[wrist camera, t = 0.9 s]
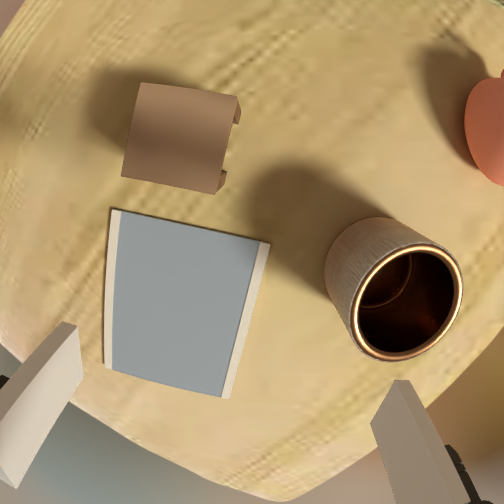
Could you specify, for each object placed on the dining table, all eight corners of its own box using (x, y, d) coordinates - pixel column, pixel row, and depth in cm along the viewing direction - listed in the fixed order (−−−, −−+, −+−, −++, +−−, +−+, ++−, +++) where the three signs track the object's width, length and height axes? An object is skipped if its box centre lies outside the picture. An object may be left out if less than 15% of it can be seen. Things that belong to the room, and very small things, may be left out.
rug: (114, 208, 30) (112, 209, 30) (270, 243, 31) (270, 244, 31) (106, 365, 36) (104, 367, 35) (229, 396, 37) (228, 399, 36)
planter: (310, 306, 33) (329, 359, 24) (337, 204, 30) (371, 226, 21) (398, 318, 34) (435, 366, 25) (428, 227, 31) (480, 254, 21)
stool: (168, 99, 27) (140, 82, 19) (241, 112, 27) (236, 96, 20) (153, 170, 29) (120, 176, 21) (224, 184, 29) (213, 194, 22)
